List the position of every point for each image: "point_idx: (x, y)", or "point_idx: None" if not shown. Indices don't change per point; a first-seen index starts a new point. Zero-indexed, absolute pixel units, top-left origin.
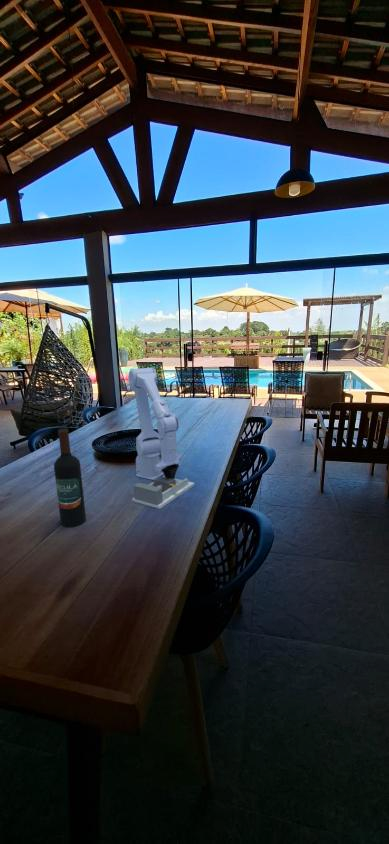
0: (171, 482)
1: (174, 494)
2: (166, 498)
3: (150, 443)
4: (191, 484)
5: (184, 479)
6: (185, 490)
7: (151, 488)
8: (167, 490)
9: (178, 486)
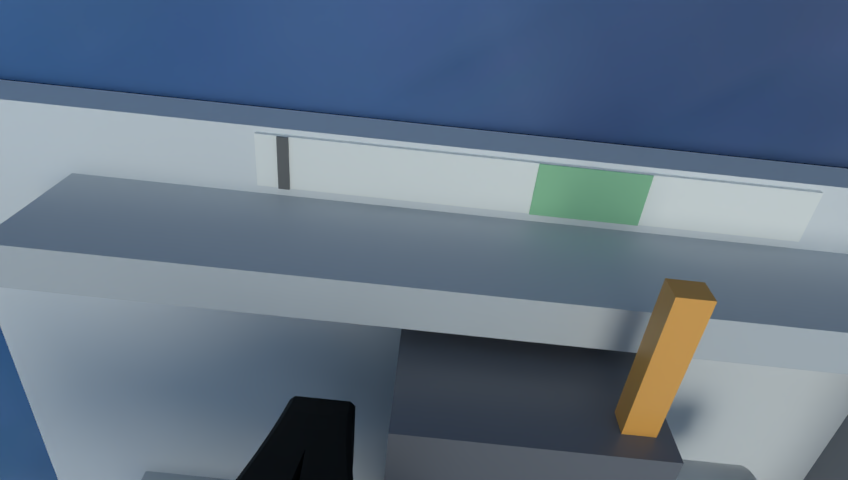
0: (571, 437)
1: (614, 200)
2: (816, 252)
3: None
4: (21, 111)
5: (84, 283)
6: (283, 116)
7: None
8: (805, 348)
9: (407, 256)
